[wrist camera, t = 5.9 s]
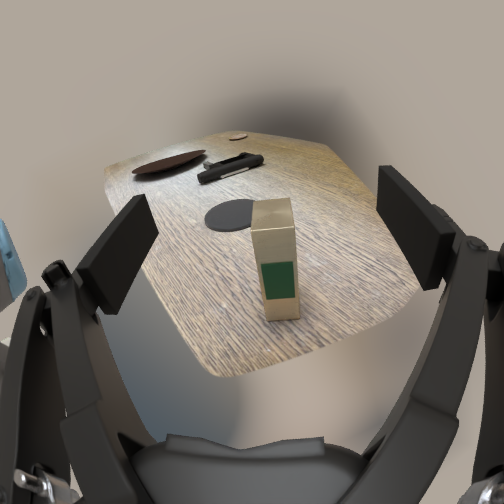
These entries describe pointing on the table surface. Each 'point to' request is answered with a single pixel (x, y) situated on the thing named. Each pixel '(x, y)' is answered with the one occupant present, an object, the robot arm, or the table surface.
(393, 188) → the robot arm
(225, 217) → the coaster
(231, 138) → the flatbread
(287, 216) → the tea tin
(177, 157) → the plate
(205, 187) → the table surface
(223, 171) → the door handle
